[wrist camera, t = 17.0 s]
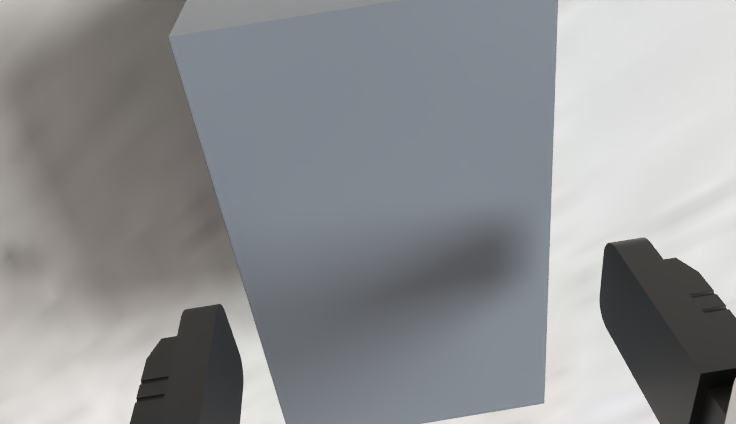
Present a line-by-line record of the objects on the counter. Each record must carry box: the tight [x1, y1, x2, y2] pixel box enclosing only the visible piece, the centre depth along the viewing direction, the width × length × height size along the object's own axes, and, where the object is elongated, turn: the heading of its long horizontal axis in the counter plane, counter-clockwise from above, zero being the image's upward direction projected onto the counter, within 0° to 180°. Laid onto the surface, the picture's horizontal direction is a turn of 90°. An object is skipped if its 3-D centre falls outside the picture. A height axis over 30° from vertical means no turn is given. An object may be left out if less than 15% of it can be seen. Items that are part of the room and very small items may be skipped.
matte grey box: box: [168, 0, 558, 424], centre depth 19 cm, size 7×12×9 cm, turn 7°
